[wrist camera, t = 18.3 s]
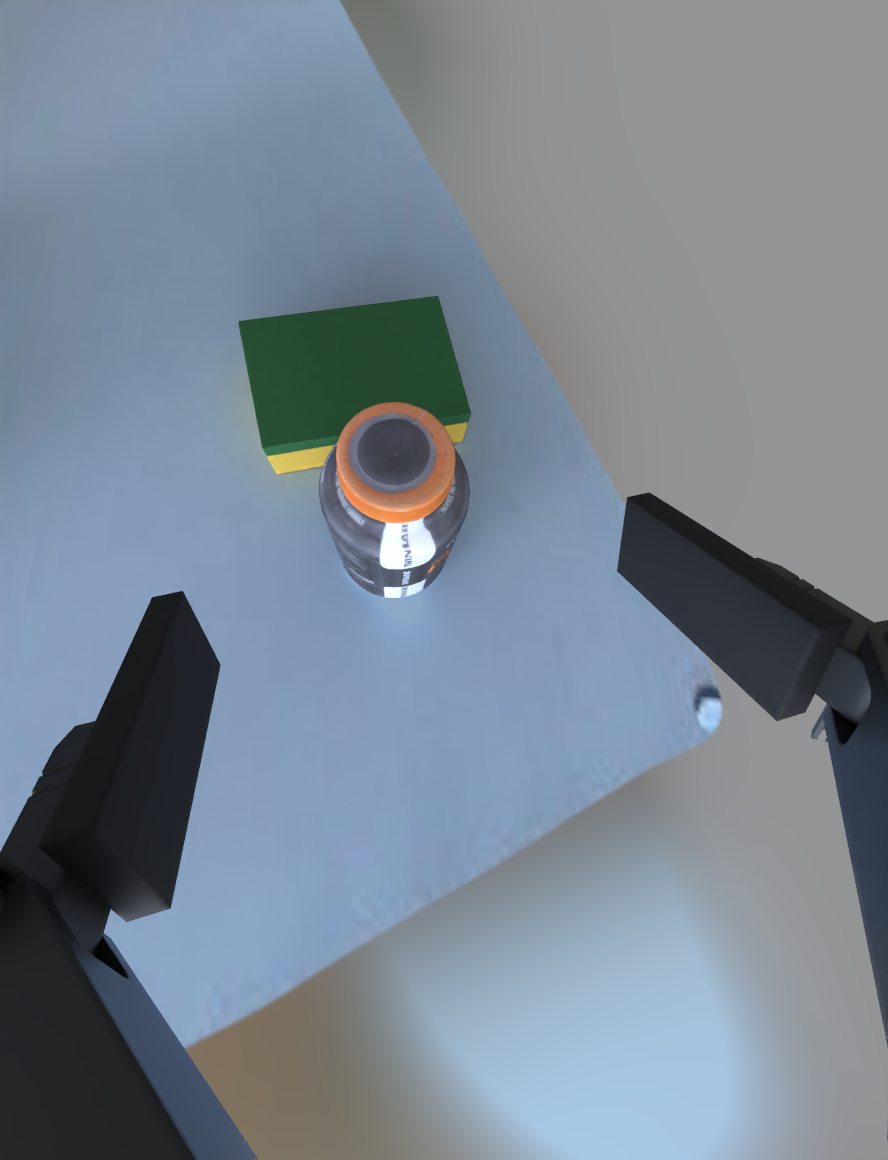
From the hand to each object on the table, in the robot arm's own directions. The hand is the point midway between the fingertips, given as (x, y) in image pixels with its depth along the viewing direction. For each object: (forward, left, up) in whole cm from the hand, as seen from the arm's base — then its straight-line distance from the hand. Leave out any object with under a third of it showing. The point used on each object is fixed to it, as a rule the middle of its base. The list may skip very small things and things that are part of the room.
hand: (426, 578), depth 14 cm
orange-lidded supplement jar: (-3, +3, -12) cm, 13 cm away
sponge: (-10, +10, -12) cm, 18 cm away
